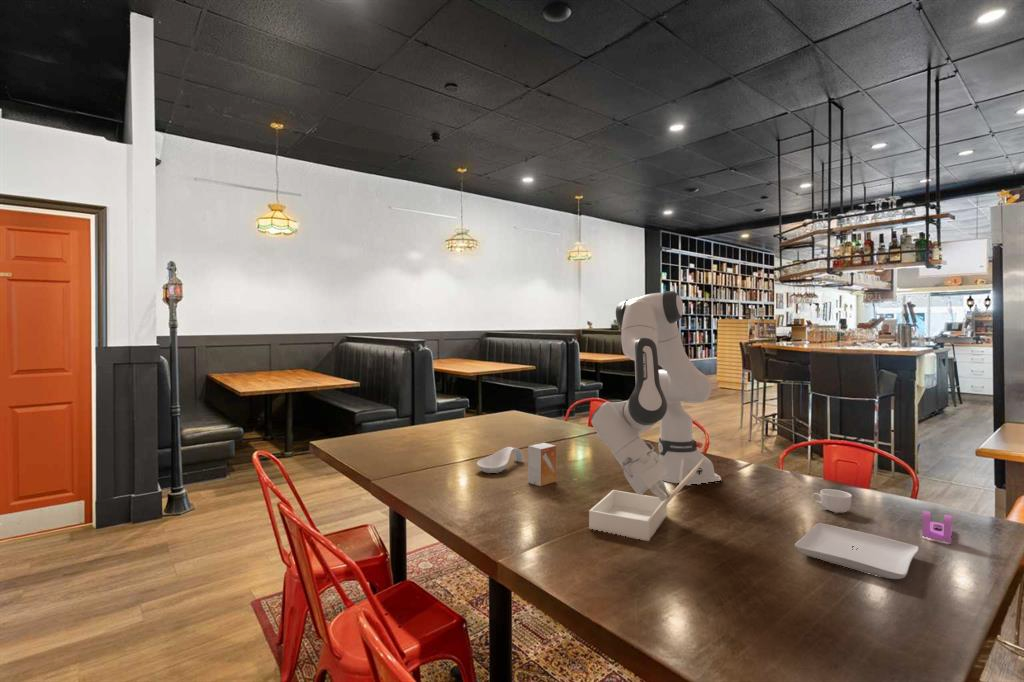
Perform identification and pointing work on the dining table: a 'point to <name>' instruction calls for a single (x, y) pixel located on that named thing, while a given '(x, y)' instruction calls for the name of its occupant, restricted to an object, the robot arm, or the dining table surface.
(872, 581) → the dining table surface
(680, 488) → the mailer lid
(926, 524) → the bracket
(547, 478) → the small box
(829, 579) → the dining table surface
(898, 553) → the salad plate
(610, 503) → the tray
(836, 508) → the teacup
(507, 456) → the spoon rest
